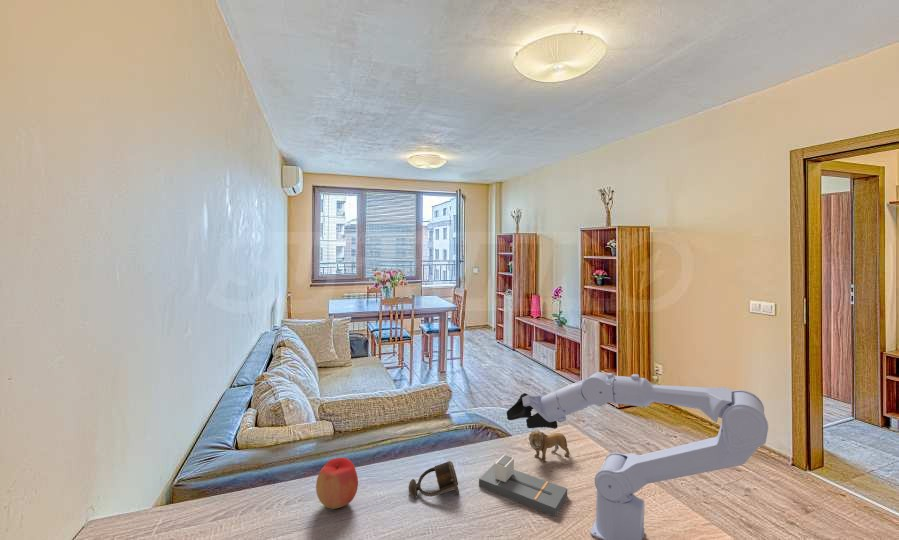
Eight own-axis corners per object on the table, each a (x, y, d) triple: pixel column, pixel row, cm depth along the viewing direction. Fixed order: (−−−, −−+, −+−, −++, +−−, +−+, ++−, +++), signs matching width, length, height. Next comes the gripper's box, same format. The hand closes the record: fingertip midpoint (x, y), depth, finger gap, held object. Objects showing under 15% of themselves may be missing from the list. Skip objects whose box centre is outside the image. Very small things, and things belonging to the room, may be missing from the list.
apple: (320, 494, 95) (319, 454, 95) (359, 490, 97) (359, 451, 96) (313, 520, 86) (312, 477, 85) (356, 516, 87) (356, 473, 87)
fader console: (567, 496, 95) (567, 488, 95) (555, 516, 88) (555, 507, 88) (495, 469, 106) (495, 462, 106) (478, 486, 99) (479, 478, 99)
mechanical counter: (458, 486, 90) (464, 456, 99) (405, 475, 92) (417, 446, 102) (456, 510, 92) (462, 478, 101) (404, 499, 94) (416, 468, 104)
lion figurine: (536, 467, 108) (536, 436, 107) (523, 458, 112) (524, 428, 112) (574, 455, 115) (575, 425, 114) (561, 447, 119) (562, 418, 119)
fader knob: (513, 473, 101) (514, 457, 101) (505, 482, 97) (505, 466, 97) (503, 469, 103) (503, 454, 103) (494, 478, 99) (495, 462, 98)
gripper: (576, 394, 95) (533, 412, 102) (541, 375, 88) (496, 395, 95) (584, 423, 90) (537, 439, 97) (547, 405, 83) (500, 424, 90)
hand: (517, 419), depth 96 cm, fingers open, 7 cm apart
